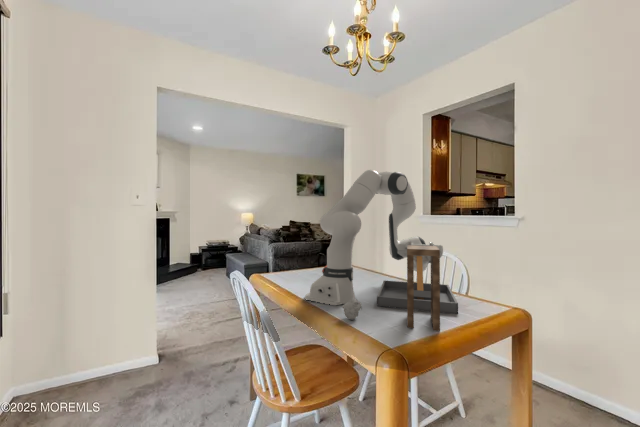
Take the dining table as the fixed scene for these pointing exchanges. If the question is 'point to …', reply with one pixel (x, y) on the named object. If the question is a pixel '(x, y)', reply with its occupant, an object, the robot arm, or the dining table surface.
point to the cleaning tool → (421, 283)
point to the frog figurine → (352, 309)
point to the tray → (396, 297)
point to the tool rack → (435, 283)
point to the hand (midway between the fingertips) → (420, 243)
